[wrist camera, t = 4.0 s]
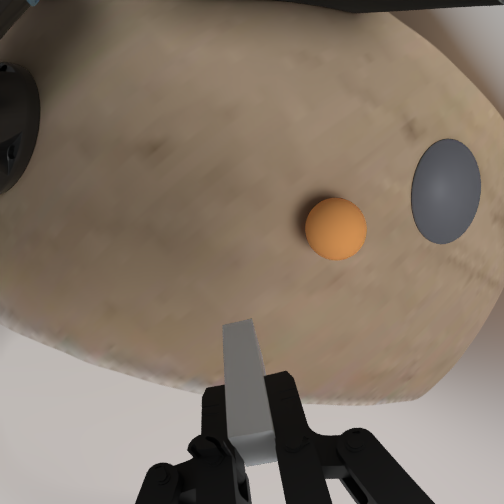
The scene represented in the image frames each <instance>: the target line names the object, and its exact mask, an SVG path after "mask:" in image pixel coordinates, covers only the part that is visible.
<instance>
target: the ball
mask: <svg viewBox="0 0 504 504" xmlns="http://www.w3.org/2000/svg"><path fill="white" fill-rule="evenodd" d="M305 232H306V237H307V240H308V243H309V244H310V246H311V248H312V249H313V250H314V251H315V252H316V253H317V254H318V255H320V256H322V257H324V258H326V259H330V260H343V259H347V258H349V257H351V256H353V255H354V254H355V253H357V252H358V251H359V249H360V248H361V247H362V245H363V243H364V241H365V238H366V232H367V227H366V221H365V218H364V216H363V214H362V212H361V211H360V209H359V208H358V207H357V206H356V205H355V204H353V203H352V202H350V201H348V200H346V199H342V198H329V199H326V200H323V201H321V202H320V203H318V204H317V205H316V206H315V207H314V208H313V209H312V210H311V211H310V213H309V215H308V217H307V220H306V225H305Z"/></svg>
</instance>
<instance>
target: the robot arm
mask: <svg viewBox="0 0 504 504" xmlns="http://www.w3.org/2000/svg"><path fill="white" fill-rule="evenodd" d="M39 1H40V0H0V39H1V38H2V37H3V36H4V35H5V33H6V32H7V31H8V30H9V29H10V28H11V26H12V25H13V24H14V23H15V22H16V21H17V20H18V19H19V18H20V17H21V16H22V15H23V13H24V12H25V11H26V10H27V9H28V8H29V7H30V6H33V7H34V6H35V5H36V4H37V3H38V2H39ZM39 115H40V105H39V95H38V90H37V87H36V84H35V81H34V79H33V77H32V75H31V74H30V73H29V72H28V71H27V70H26V69H25V68H24V67H22V66H20V65H16V64H12V63H7V62H0V194H1V193H4V192H6V191H7V190H9V189H10V188H11V187H12V186H13V185H14V184H15V183H16V182H17V181H18V179H19V178H20V177H21V175H22V174H23V172H24V170H25V168H26V166H27V164H28V162H29V160H30V157H31V155H32V152H33V149H34V146H35V142H36V138H37V133H38V126H39ZM223 353H224V377H225V385H220V386H214V387H208V388H206V390H205V392H204V394H203V396H202V421H201V422H202V423H201V424H202V426H201V427H202V428H201V435H198V436H197V437H195V438H194V439H192V441H191V442H190V443H189V445H188V449H187V451H188V452H189V453H190V454H191V455H192V456H193V458H192V459H190V460H188V461H186V462H183V463H180V464H177V465H175V466H173V465H171V464H168V463H158V464H155V465H153V466H152V467H151V468H150V469H149V470H148V472H147V474H146V476H145V479H144V482H143V484H142V487H141V489H140V492H139V495H138V497H137V500H136V503H135V504H252V502H251V494H250V487H249V479H248V477H247V474H246V473H245V466H244V463H245V465H246V466H254V465H260V464H265V463H271V462H276V461H278V465H279V470H280V475H281V480H282V485H283V490H284V495H285V500H286V504H332V501H331V498H330V494H329V491H328V487H327V484H326V481H325V479H340V481H341V483H342V484H343V485H344V487H345V488H346V490H347V491H348V492H349V494H350V495H351V496H352V498H353V499H354V501H355V502H356V503H357V504H435V503H434V502H433V501H432V500H431V499H430V498H429V497H428V496H427V495H426V493H425V492H424V491H423V490H422V489H421V488H420V487H419V486H418V485H417V484H416V482H415V481H414V480H413V479H412V478H411V477H410V476H409V475H408V474H407V472H405V470H404V469H403V468H402V467H401V466H400V465H399V464H398V462H397V461H396V460H395V459H394V458H393V457H392V456H391V455H390V453H389V452H388V451H387V450H386V449H385V448H384V447H383V446H382V444H381V443H380V442H379V441H378V440H377V439H376V438H375V436H374V435H373V434H372V433H371V432H369V431H368V430H366V429H363V428H352V429H349V430H347V431H345V432H344V433H343V434H341V435H333V436H327V435H320V434H317V433H315V432H314V431H312V430H311V429H310V428H309V426H308V424H307V421H306V417H305V414H304V411H303V407H302V404H301V401H300V397H299V394H298V391H297V387H296V384H295V381H294V378H293V377H292V376H291V375H290V374H289V373H288V372H287V371H283V372H279V373H275V374H271V375H266V372H265V367H264V362H263V357H262V354H261V350H260V346H259V343H258V339H257V336H256V332H255V328H254V325H253V321H252V319H248V320H243V321H239V322H235V323H230V324H225V325H223Z"/></svg>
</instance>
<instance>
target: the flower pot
mask: <svg viewBox="0 0 504 504" xmlns="http://www.w3.org/2000/svg"><path fill="white" fill-rule="evenodd" d="M277 1H287V2H296V3H303V4H310V5H317V6H323V7H328V8H333V9H338V10H342V11H347V12H351V13H370V12H389V11H406V10H422V9H435V8H452V7H471V6H493V5H504V0H277Z"/></svg>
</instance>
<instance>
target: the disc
mask: <svg viewBox="0 0 504 504" xmlns="http://www.w3.org/2000/svg"><path fill="white" fill-rule="evenodd" d="M480 194H481V179H480V172H479V168H478V165H477V162H476V160H475V158H474V156H473V154H472V152H471V151H470V150H469V149H468V148H467V147H466V146H465V145H464V144H463V143H461V142H459V141H457V140H453V139H444V140H440V141H438V142H436V143H434V144H433V145H432V146H431V147H429V149H428V150H427V151H426V152H425V153H424V155H423V156H422V158H421V160H420V162H419V164H418V166H417V169H416V171H415V175H414V178H413V184H412V192H411V203H412V212H413V216H414V220H415V223H416V225H417V227H418V229H419V231H420V232H421V233H422V235H423V236H424V237H425V238H426V239H428V240H429V241H431V242H433V243H436V244H446V243H450V242H452V241H454V240H456V239H457V238H459V237H460V236H461V235H462V234H463V233H464V232H465V231H466V230H467V228H468V227H469V226H470V224H471V222H472V221H473V219H474V217H475V214H476V212H477V208H478V205H479V200H480Z"/></svg>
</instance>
